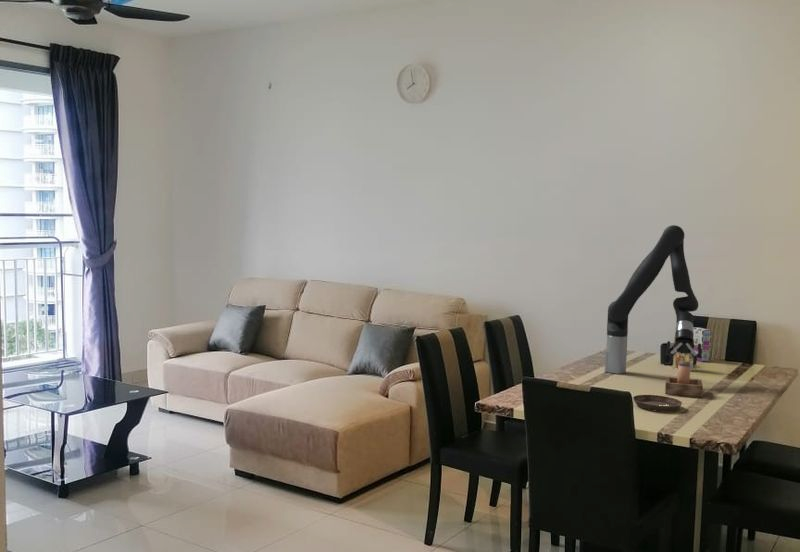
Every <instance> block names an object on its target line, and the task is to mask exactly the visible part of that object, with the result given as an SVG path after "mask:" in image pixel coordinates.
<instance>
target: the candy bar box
mask: <svg viewBox="0 0 800 552" xmlns="http://www.w3.org/2000/svg"><path fill="white" fill-rule="evenodd" d="M693 328H694V337H693V339H695V341H694V345H698V344H701V352H702V355H701V358H697V361H698V362H701V363H705V362H706V363H709V362H710V357H711V343H712V342H711V340H712V330H711V329H708V328H703V327H694V326H693ZM694 351H695V353H696V354H698V350H696V348H694Z"/></svg>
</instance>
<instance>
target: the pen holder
mask: <svg viewBox="0 0 800 552" xmlns="http://www.w3.org/2000/svg"><path fill="white" fill-rule="evenodd" d="M659 347H660V349H659V350H660V354H659V355H660V357H659V358H660V361H659V362H660V365H662V364H664V365H663V366H667V365H673V364H672V362H670V356H669V355H666V348H667V342H663V343H661V344H660V346H659ZM673 349H674V346H672V347H671V348H670V350H669V351H670V352H671V351H672V350H673Z"/></svg>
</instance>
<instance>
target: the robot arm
mask: <svg viewBox="0 0 800 552" xmlns="http://www.w3.org/2000/svg"><path fill="white" fill-rule="evenodd" d="M684 241H685V231H684V229H683V228H682V227H680V226H679V225H676V224H674V225H669V226H667V227H666V228H665V229H664V230H663V232H662V234H661V236H660V237H659V240H658V241H657V243H656V245H655V246H654V247H653V248H652V250H651V251H650V252H649V253H648V254H647V255H646V256H645V257H644V259H643V260H642V261H641V262H640V263H639V265H638V266H637V267H636V269H635V271H634V272H633V273H632V275H631V277H630V278H629V280H628V283H627V284H626V286H625V287H624V290H623V291H622V292H621V294H620V295H619V296H618V297H617V299H615V300H614V301H612V302H611V303H610V304H609V305H608V307H607V319H606V320H607V322H606V323H607V324H606V346H605V347H606V348H605V349H606V350H605V358H604V359H605V360H604V361H605V362H604V372H605V373H610V374H617V375H619V374H626V371H627V355H628V351H627V350H628V334H629V333H628V332H629V327H628V326H629V314H630V313H631V311H632V309H633V308H634V306H635V304H636V303H637V301H638V300H639V299H640V298H641V297H642V295H644V293H646V291H647V290H648V289H649V287H650V286H651V285H652V284H653V282H654V281H655V279H656V278H657V277H658V275H659V274H660V273H661V270H662V269H663V267H664V265H665V263H666V261H667V260H668V258H669V259H670V265H671V275H672V282H673V287H674V291H675V292H677V293H685V294H686V295H687V296H680V297H676V298H675V299H674V300H673V302H672V306H673V308H674V312H675V315H676V316H675V317H676V324H675V325H676V326H675V330H674V331H675V332H674V334H675V335H674V337H675V342H674V341H673V342H671V341H669V340H668V341H667V342H666V343H667V348H666V355H669V356H670V362H672V364H673V360H674V355H676V354H677V353H678V352H679V353H685V354H687V353H689V354H690V355H691V356H692V357H693V367H695V366H696V365H697V358H701V355H702V352H701V344H698V345H694V343H693V337H694V328H693V327H694V314H693V313H691V312H696V311H697V310H698V308H699V301H698V299H697V296H695V293H694V291H693V288H692V284H691V279H690V274H689V269H688V266H687V261H686V257H685V256H686V255H685V251H684V250H685V248H684V247H685V245H684V243H685V242H684ZM672 346H674V349H673V350H672V351H671V352H670V351H669V350H670V348H671V347H672ZM694 348H696V350H698V354H696V353H695V351H694V350H693V349H694Z"/></svg>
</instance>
